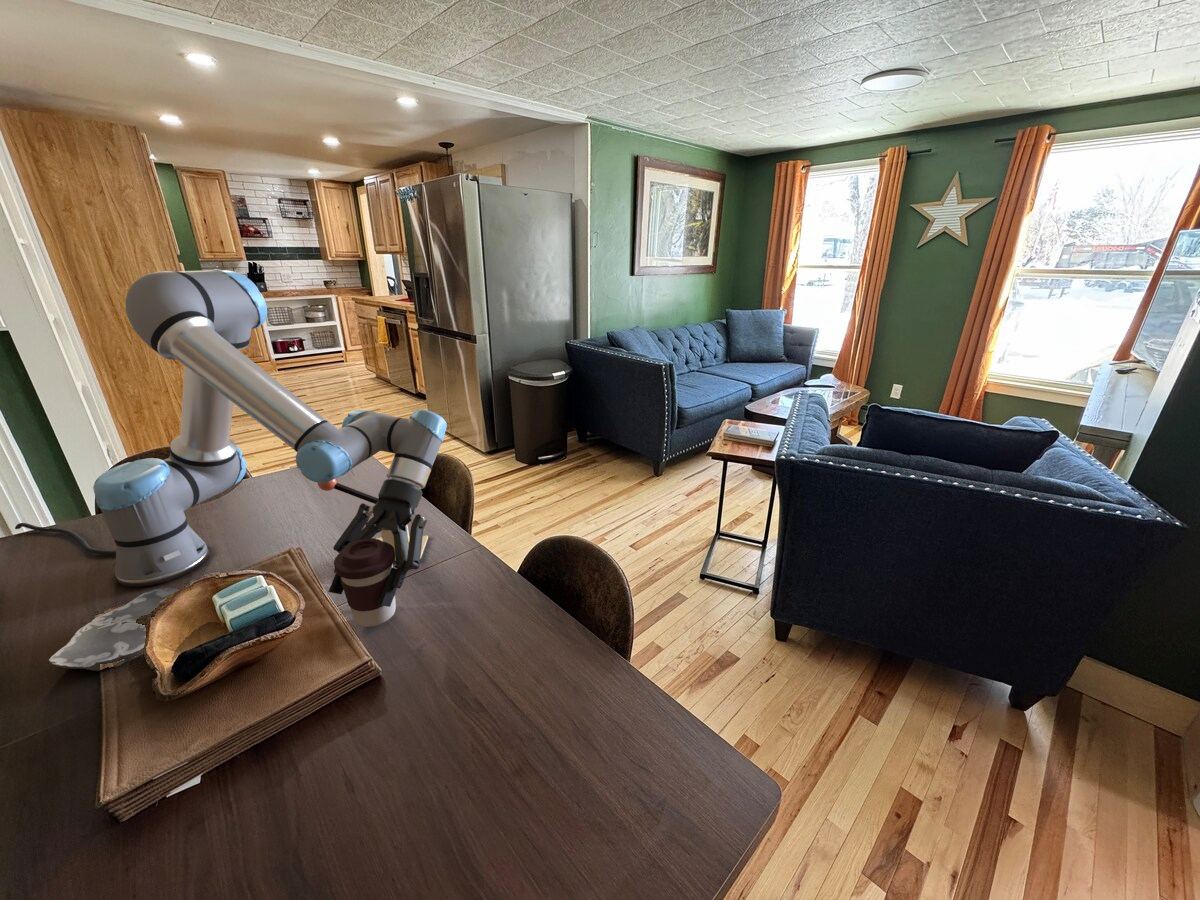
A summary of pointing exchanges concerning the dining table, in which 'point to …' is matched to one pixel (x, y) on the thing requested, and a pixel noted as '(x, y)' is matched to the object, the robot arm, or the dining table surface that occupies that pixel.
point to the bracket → (389, 538)
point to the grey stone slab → (111, 635)
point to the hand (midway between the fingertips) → (359, 599)
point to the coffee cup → (366, 579)
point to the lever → (346, 490)
